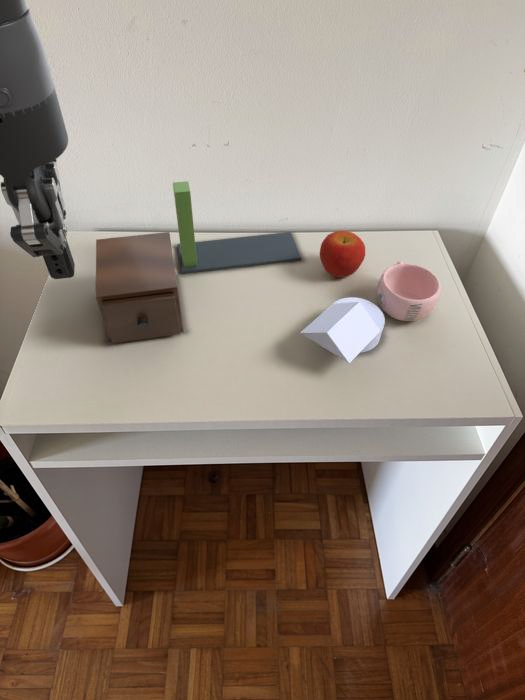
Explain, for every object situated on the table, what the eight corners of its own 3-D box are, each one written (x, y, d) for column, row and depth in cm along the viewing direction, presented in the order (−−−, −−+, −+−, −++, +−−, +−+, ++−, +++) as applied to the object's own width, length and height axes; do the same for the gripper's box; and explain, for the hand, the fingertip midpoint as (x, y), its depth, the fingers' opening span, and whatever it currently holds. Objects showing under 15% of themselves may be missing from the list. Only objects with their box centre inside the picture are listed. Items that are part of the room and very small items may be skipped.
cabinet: (183, 331, 80) (177, 287, 72) (109, 341, 78) (95, 297, 71) (175, 276, 88) (169, 231, 81) (108, 284, 87) (96, 239, 79)
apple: (366, 282, 89) (375, 247, 83) (324, 288, 87) (330, 252, 81) (352, 255, 94) (359, 220, 88) (312, 260, 92) (316, 225, 86)
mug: (439, 327, 82) (451, 301, 77) (380, 330, 81) (388, 303, 77) (419, 279, 90) (428, 253, 85) (365, 280, 89) (371, 254, 84)
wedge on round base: (345, 377, 74) (390, 330, 81) (353, 348, 69) (400, 300, 76) (298, 347, 78) (345, 304, 85) (301, 317, 73) (351, 274, 80)
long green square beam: (183, 267, 89) (174, 192, 78) (181, 256, 91) (172, 182, 80) (197, 265, 90) (190, 191, 78) (195, 255, 91) (188, 181, 80)
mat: (182, 274, 89) (181, 271, 88) (177, 246, 94) (177, 244, 93) (300, 260, 92) (301, 257, 92) (290, 234, 97) (290, 231, 97)
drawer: (180, 339, 77) (175, 303, 72) (112, 349, 76) (101, 312, 70) (172, 281, 86) (167, 245, 80) (111, 289, 84) (101, 252, 79)
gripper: (-43, 54, 39) (29, 236, 52) (-81, 133, 31) (16, 327, 44) (57, 50, 40) (103, 229, 53) (47, 125, 32) (104, 316, 45)
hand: (63, 273), depth 48 cm, fingers closed
